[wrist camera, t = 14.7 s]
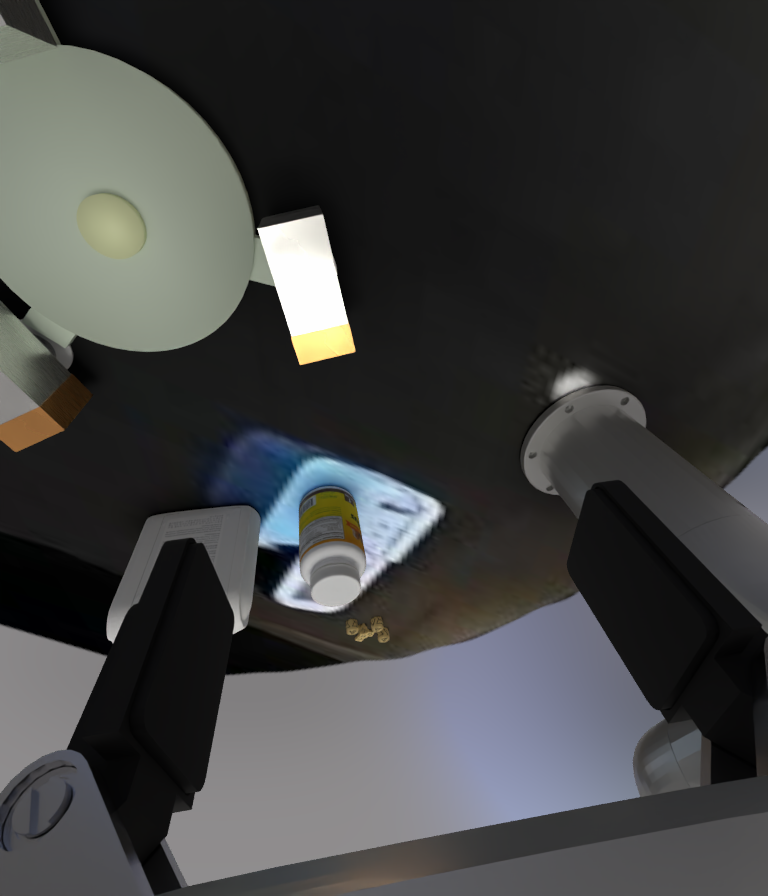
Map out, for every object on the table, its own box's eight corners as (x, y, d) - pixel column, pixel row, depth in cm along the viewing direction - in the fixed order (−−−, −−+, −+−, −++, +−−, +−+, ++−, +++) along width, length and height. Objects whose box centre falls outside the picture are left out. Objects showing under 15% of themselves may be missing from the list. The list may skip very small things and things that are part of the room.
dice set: (344, 616, 53) (345, 630, 52) (383, 607, 54) (386, 620, 52) (350, 637, 56) (352, 650, 55) (387, 628, 57) (390, 641, 55)
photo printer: (155, 544, 40) (110, 673, 30) (139, 512, 38) (85, 641, 28) (264, 530, 42) (255, 648, 32) (256, 498, 39) (244, 616, 29)
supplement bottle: (355, 522, 43) (370, 608, 35) (301, 527, 42) (302, 617, 34) (355, 480, 40) (371, 565, 32) (296, 485, 39) (297, 573, 31)
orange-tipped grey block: (-42, 309, 26) (-116, 344, 21) (6, 285, 26) (-58, 316, 21) (58, 405, 30) (15, 452, 26) (100, 386, 30) (64, 429, 25)
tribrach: (348, 278, 29) (352, 288, 27) (128, 442, 34) (116, 463, 31) (14, -215, 17) (-30, -272, 14) (-273, 152, 21) (-341, 153, 19)
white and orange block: (263, 214, 26) (256, 229, 21) (318, 202, 26) (323, 214, 21) (298, 331, 30) (299, 364, 26) (345, 320, 31) (355, 351, 26)
